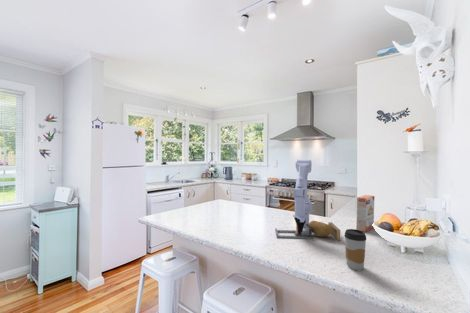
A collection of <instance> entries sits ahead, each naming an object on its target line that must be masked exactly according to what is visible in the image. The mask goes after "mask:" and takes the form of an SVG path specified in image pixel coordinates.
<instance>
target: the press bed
mask: <svg viewBox="0 0 470 313" xmlns="http://www.w3.org/2000/svg"><path fill="white" fill-rule="evenodd" d="M328 225H330V226H331V227H332V228H333V233H332V234H330V236H331V237H332V238H334V240H335V241H336V242H341V229H340V228H338V227H337V226H336V225H335V224H334V223H333V222H332V221H331V222H328ZM274 230H275V236H276V238H277V239H278V238H279V239H302V240H303V239H306V240H308V239H309V240H313V239H314V238H313V235H312V236H295V235H280V234H279V233H287V232H288V233H290V234H291V233H293V234H294V231H296V229H294V230H292V229H291V230H289V229H287V230H286V229H277V228H276V227H275V228H274Z"/></svg>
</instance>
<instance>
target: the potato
mask: <svg viewBox="0 0 470 313" xmlns="http://www.w3.org/2000/svg"><path fill="white" fill-rule="evenodd" d="M309 226H310V227H311V228H312V234H313V235H315V236H317V237H321V238H323V237H329V236H331V234H332V233H333V228H332V227H331V226H330V225H328V224H327V223H324V222H321V221H317V220H311V221H309Z"/></svg>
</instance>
